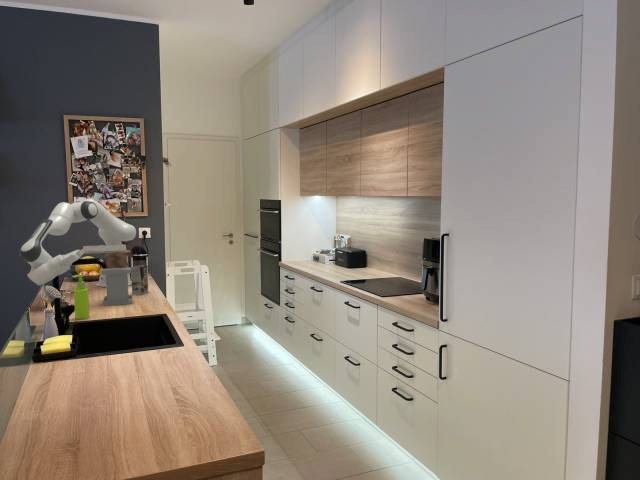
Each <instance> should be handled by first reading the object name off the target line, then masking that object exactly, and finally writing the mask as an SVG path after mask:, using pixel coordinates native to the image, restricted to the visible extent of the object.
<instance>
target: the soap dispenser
mask: <svg viewBox="0 0 640 480" xmlns="http://www.w3.org/2000/svg"><path fill="white" fill-rule="evenodd" d="M83 277H85V274H75V275H72V276H71V278H74V279H77V278H78V280H77V282H76V288H75V289H74V290H73V297H74V298H73V300H74V301H73V302H74V318H75V319H76V320H84V319H85V320H86V319H88V318H90V303H89V302H90V301H89V300H90V299H89V298H90V297H89V288H86V282H85V281H83V279H84V278H83Z"/></svg>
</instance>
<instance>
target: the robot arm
mask: <svg viewBox="0 0 640 480" xmlns="http://www.w3.org/2000/svg"><path fill="white" fill-rule="evenodd" d="M86 221H90V222H91V223H92V224H93V225H95V226H96V227H97V228H98V236H99V238H101V239H102V240H103V242H104V243H105V245H123V243H122V242H129V241H132V240H134V239H135V238H136V236H137V229H136V227H135V226H134V225H132V224H130V223H127V222H125V221H123V220H122V219H120V218H118V217H117V216H115V215H114V214H112V213H111V211H109V210H108V209H107V208H105V207H104V206H103V205H102V203H100V202H98V201H97V200H95V199H93V198H86V199H83V200H82V201H78V202H73V203H68V202H65V201H64V202H63V201H62V202H60V203H57V205H55V207H54V208H53V209H52V211H51V213H50V215H49V216H48V218H47V219H44V220H42V221H41V222H40V223H39V224H38V225H37V227H35V229H34V230H33V232H32V234H31V235H30V236H29V238H28V239H27V240H26V241H25V242H24V243H23V244H22V245H21V247H19V254H18V255H19V257H20V258H21V259H22V260H24V261H25V262H27V263H28V264H29V265H30V267H31V268H30V271H29V272H28V273H27V274H26V277H27V278H28V280H29V281H30V282H31V283H32V284H33V285H35V286H42V285H45V284H47V283H49V282H50V281H53V280H54V279H55V278H56V277H58V276H61V275H62V274H65V273H66V272H67V271H70V270H71V266H72V265H73V263H74V262H76V261H78V260H79V259H80V258H81V257H82V256H83V255H84V253H85V252H87V251H88V250H87V248H85V249H83V248H82V249H76V250H73V251H71V252H68V253H66V254H58V255H56V256H54V257H53V256H52V255H50V253H49V252H47V250H45V249H44V248H43V246H42V245H43V244H42V242H43V241H44V240H45V238H46V237H47V235H48V234H49V235H51V236H57V237H58V236H63V235H65V234H66V233H68V231H69V230H70V228H71V225H72V224H76V223H82V222H86ZM126 251H128V250H127V248H126ZM127 268H130V263H129V256H127ZM130 274H131V273H128V287H129V286H132V279H131V275H130ZM94 286H96V287H100V288H106V275H101V274H100V275H99V279H98V282H97V283H95V285H94Z"/></svg>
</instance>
